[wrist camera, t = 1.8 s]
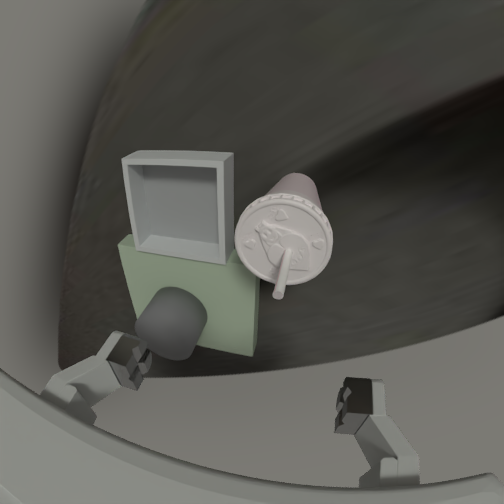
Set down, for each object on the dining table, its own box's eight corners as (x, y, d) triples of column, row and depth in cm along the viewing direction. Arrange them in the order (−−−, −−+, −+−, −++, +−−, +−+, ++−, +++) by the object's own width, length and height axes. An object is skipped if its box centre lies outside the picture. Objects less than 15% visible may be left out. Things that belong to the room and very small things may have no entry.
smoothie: (297, 236, 29) (273, 346, 18) (248, 191, 28) (189, 281, 17) (346, 194, 26) (358, 294, 15) (295, 143, 25) (265, 206, 13)
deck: (265, 155, 26) (244, 181, 20) (256, 342, 39) (243, 388, 33) (116, 150, 29) (69, 174, 23) (148, 318, 42) (124, 355, 36)
